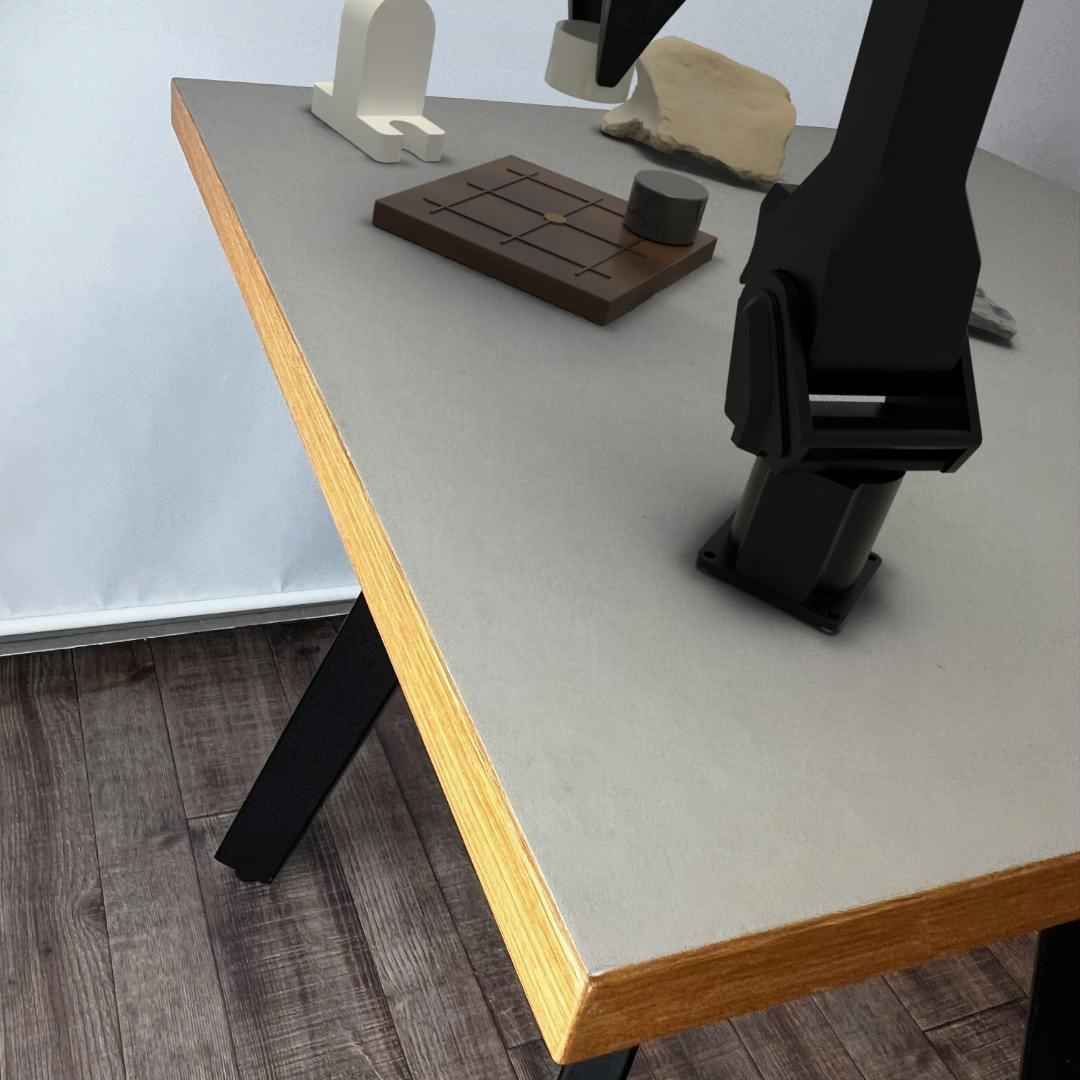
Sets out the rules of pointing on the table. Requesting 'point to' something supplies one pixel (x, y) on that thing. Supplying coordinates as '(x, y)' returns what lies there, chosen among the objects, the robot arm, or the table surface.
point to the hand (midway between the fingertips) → (591, 70)
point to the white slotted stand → (382, 80)
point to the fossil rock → (991, 316)
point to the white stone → (581, 64)
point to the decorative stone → (707, 110)
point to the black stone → (665, 207)
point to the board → (541, 236)
